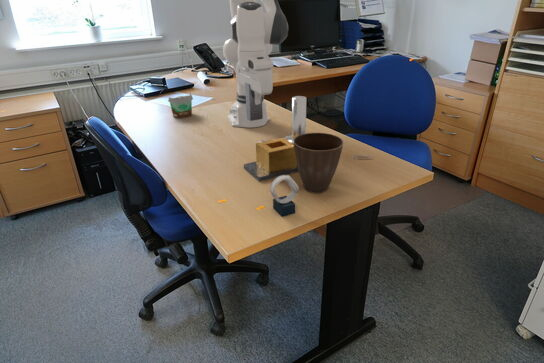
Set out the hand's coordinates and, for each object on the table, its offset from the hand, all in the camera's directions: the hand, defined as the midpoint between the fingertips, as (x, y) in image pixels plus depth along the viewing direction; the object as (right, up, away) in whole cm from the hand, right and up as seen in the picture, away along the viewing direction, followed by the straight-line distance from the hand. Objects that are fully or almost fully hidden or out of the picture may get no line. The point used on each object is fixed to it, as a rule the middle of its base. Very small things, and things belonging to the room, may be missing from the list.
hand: (254, 102), depth 129 cm
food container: (-37, +6, +64) cm, 74 cm away
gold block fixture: (+8, -20, +12) cm, 25 cm away
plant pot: (+20, -28, -4) cm, 35 cm away
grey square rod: (0, -5, +3) cm, 6 cm away
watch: (+9, -35, -16) cm, 39 cm away
